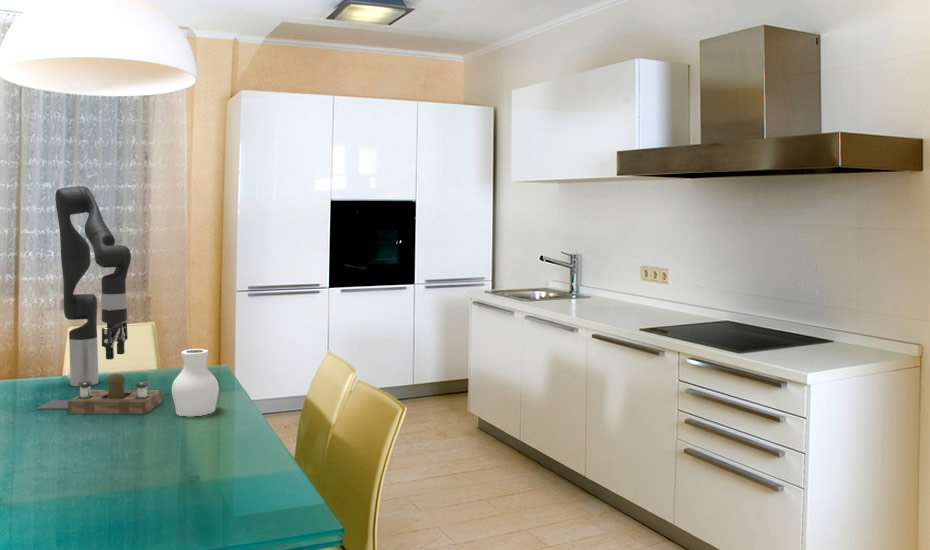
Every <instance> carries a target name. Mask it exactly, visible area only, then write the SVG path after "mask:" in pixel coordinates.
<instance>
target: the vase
mask: <svg viewBox="0 0 930 550" xmlns="http://www.w3.org/2000/svg"><path fill="white" fill-rule="evenodd" d="M180 355H181V358H182V361H183V368H182V369H181V371H180V372H179V374H178V375H177V376H176V377H175V379H174V381H173V382H172V385H171V396H172V399H173V402H174V407H175V414H177V415H176V416H178V415H179V416H178V417H181V416H202V415H207V414H210V413H212V412H214V411H215V412H216V405H217V401H218V397H219V392H220V390H219V386H220V385H219V382H218V380H217V378H216V377H215V375H214V374H213V373H212V372H211V371H210V370H209V369H208V367H207V360H208V356H209V350H208V349H204V348H189V349H185V350H182V351H181V353H180ZM215 412H214V413H215ZM210 415H211V414H210ZM207 416H208V415H207ZM202 417H203V416H202Z"/></svg>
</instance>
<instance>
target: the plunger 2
mask: <svg viewBox="0 0 930 550" xmlns="http://www.w3.org/2000/svg"><path fill="white" fill-rule="evenodd" d="M134 384H135V385H134V386H135V387H136V390H137V399H147V390H148V386H149V381H137V382H135V383H134Z"/></svg>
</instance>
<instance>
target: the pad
mask: <svg viewBox="0 0 930 550" xmlns="http://www.w3.org/2000/svg"><path fill="white" fill-rule="evenodd" d="M69 400H70V399H55V400H54V399H52V400H49V401H48V402H46V403H44V404H41V405H40V406H37V407H36V411H38V410H39V411H40V410H41V411H44V410H45V411H68V401H69Z"/></svg>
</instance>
